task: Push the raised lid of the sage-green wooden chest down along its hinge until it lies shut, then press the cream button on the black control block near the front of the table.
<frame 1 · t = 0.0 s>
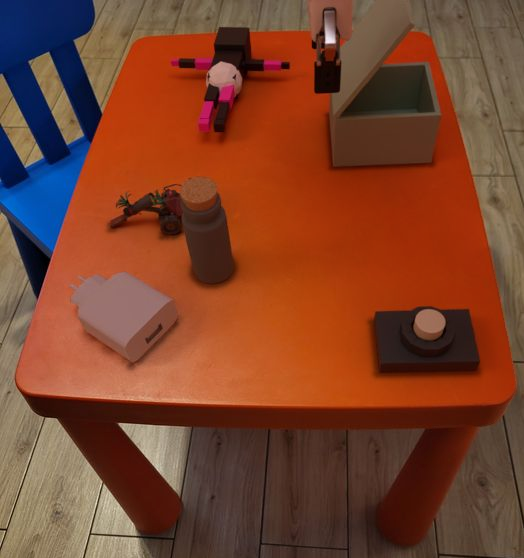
hand: (325, 69, 79), 20 cm above the table, tool pointing down, fingers open, 9 cm apart
chest: (378, 137, 101), on the table
charger: (117, 316, 84), on the table
control block: (423, 345, 79), on the table
toy vehicle: (159, 221, 94), on the table
button: (429, 324, 75), point 4 cm above the table, slide at 0.1 cm
bottle: (213, 269, 88), on the table
blocky doll: (226, 99, 110), on the table
lid: (367, 46, 88), point 16 cm above the table, hinge at 55.0°
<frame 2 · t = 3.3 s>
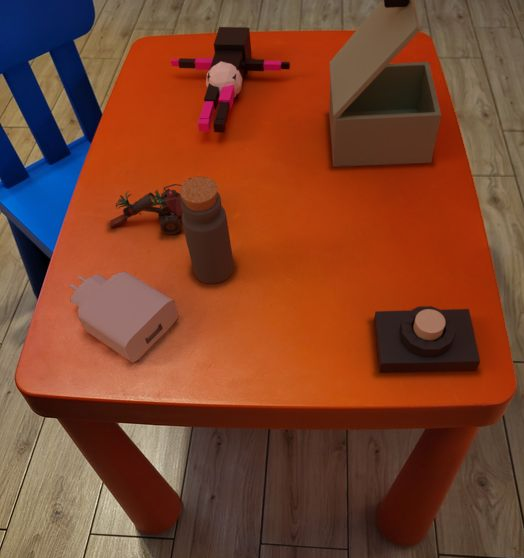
hand: (395, 3, 83), 22 cm above the table, tool pointing down, fingers closed
lid: (370, 47, 88), point 16 cm above the table, hinge at 51.3°, touching gripper
everything else where it was.
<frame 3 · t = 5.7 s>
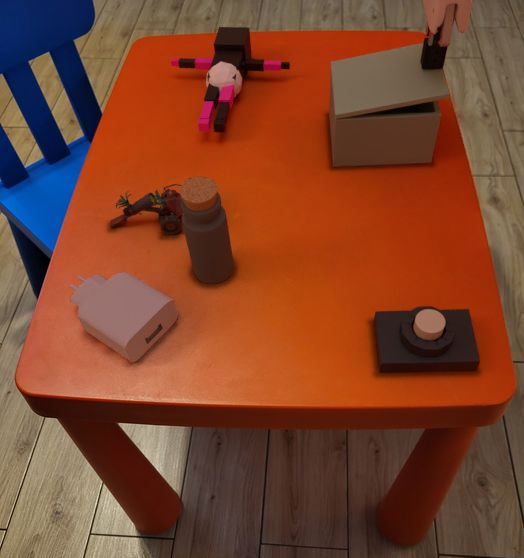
hand: (431, 65, 91), 12 cm above the table, tool pointing down, fingers closed
lid: (386, 78, 92), point 11 cm above the table, hinge at 9.4°, touching gripper
everything else where it was.
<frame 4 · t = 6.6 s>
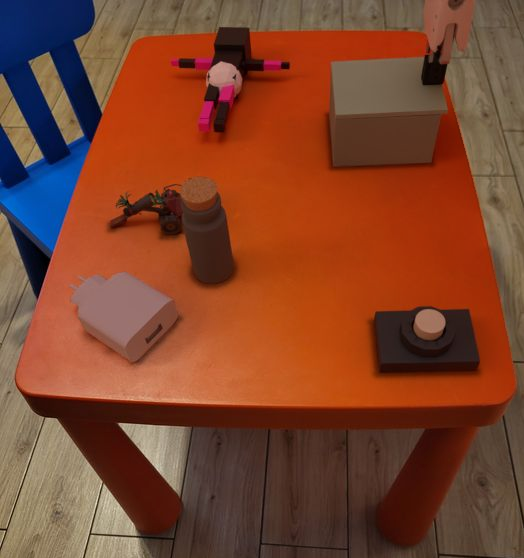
hand: (431, 81, 93), 10 cm above the table, tool pointing down, fingers closed
lid: (386, 86, 93), point 9 cm above the table, hinge at 0.2°, touching gripper
everything else where it was.
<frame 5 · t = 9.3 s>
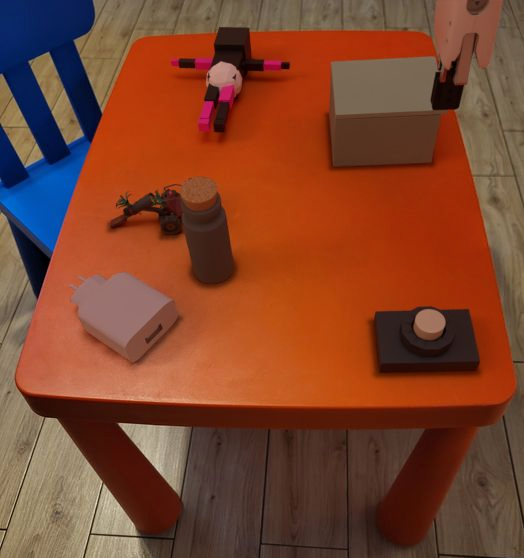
hand: (444, 105, 73), 20 cm above the table, tool pointing down, fingers closed
lid: (386, 86, 93), point 9 cm above the table, hinge at 0.2°
everything else where it was.
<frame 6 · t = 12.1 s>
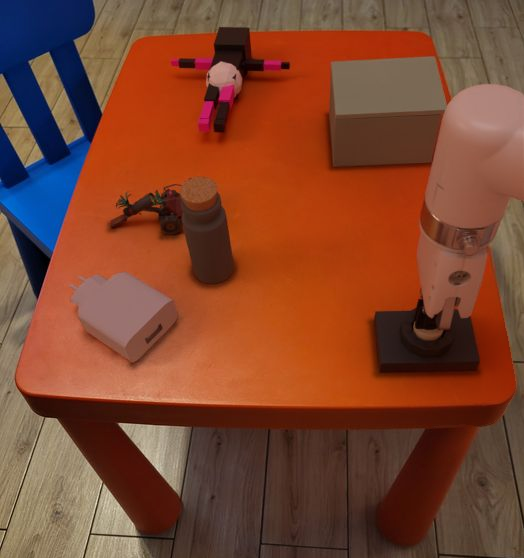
hand: (427, 323, 75), 5 cm above the table, tool pointing down, fingers closed
button: (428, 328, 75), point 4 cm above the table, slide at -0.6 cm, touching gripper
everything else where it was.
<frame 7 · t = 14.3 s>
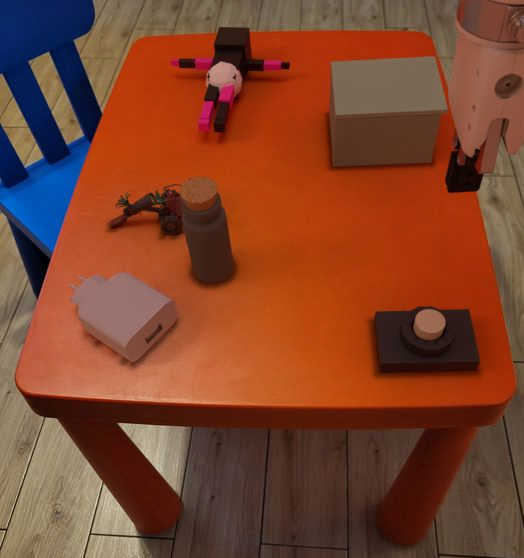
hand: (461, 186, 62), 22 cm above the table, tool pointing down, fingers closed
button: (429, 324, 75), point 4 cm above the table, slide at 0.1 cm
everything else where it was.
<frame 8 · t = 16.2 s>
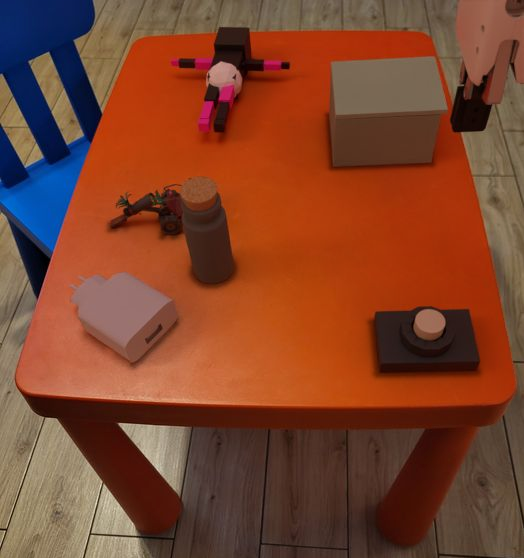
hand: (466, 126, 60), 27 cm above the table, tool pointing down, fingers closed
nothing on the table moved.
at the end: lid at +0° (first picture: +55°); button pushed in 1.1 cm at the most during the clip, back to where it started at the end; button slide at 0.1 cm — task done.
